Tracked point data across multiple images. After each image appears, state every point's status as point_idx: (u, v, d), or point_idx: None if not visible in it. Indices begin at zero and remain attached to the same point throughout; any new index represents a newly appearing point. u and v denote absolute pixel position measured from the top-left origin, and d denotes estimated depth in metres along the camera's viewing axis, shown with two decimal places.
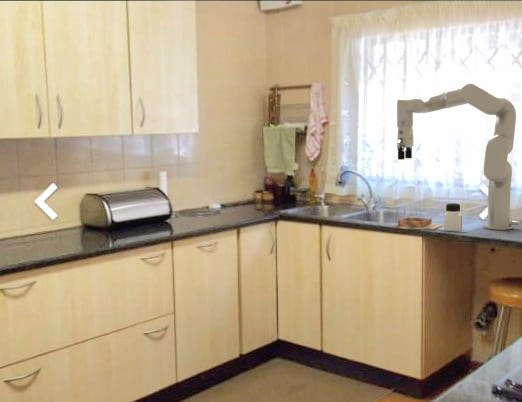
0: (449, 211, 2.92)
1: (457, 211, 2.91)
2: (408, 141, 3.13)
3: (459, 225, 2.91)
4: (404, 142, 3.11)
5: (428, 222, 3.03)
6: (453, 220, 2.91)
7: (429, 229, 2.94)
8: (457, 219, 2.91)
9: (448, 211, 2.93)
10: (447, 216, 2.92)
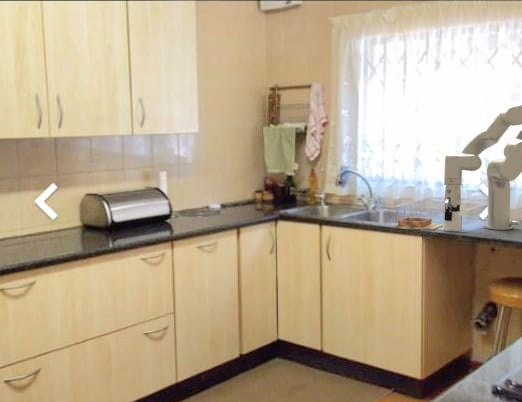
0: None
1: (457, 211, 2.91)
2: (456, 201, 2.90)
3: (458, 226, 2.91)
4: (452, 202, 2.89)
5: (428, 222, 3.03)
6: (453, 220, 2.91)
7: (429, 229, 2.94)
8: (457, 219, 2.91)
9: None
10: None
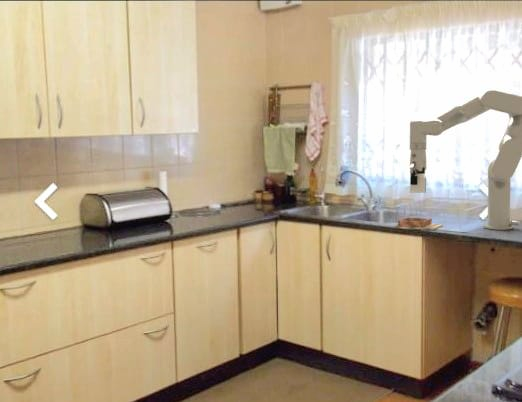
0: None
1: (421, 173, 2.98)
2: (421, 165, 2.97)
3: (423, 187, 2.98)
4: (417, 166, 2.96)
5: (428, 222, 3.03)
6: (418, 182, 2.98)
7: (429, 229, 2.94)
8: (421, 181, 2.98)
9: None
10: None
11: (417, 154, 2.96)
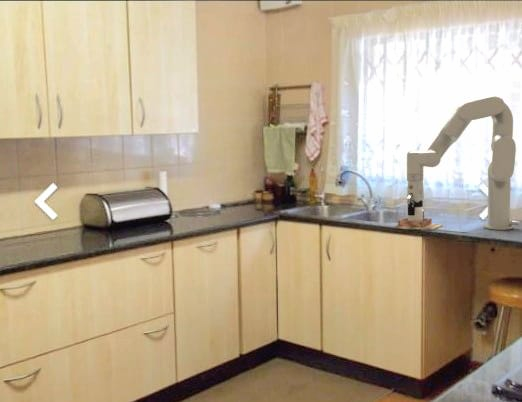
0: None
1: (419, 207, 3.01)
2: (418, 196, 3.00)
3: (420, 221, 3.00)
4: (414, 197, 2.98)
5: (428, 222, 3.03)
6: (415, 215, 3.01)
7: (429, 229, 2.94)
8: (419, 214, 3.00)
9: None
10: None
11: (414, 185, 2.98)
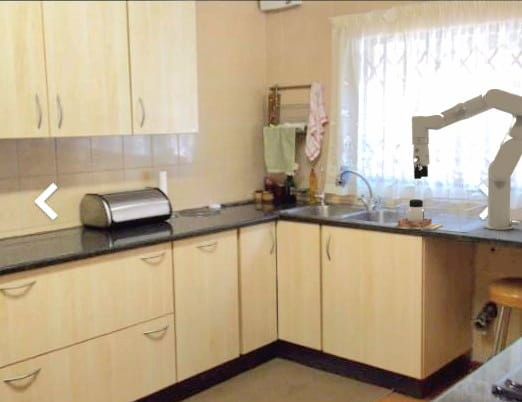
0: (411, 207, 3.02)
1: (419, 207, 3.01)
2: (424, 159, 3.00)
3: (420, 221, 3.01)
4: (420, 161, 2.98)
5: (428, 222, 3.03)
6: (415, 215, 3.01)
7: (429, 229, 2.94)
8: (419, 214, 3.00)
9: (411, 207, 3.02)
10: (409, 211, 3.01)
11: (420, 148, 2.98)
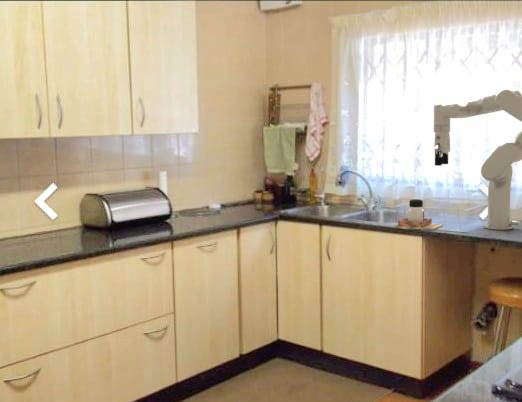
0: (411, 207, 3.02)
1: (419, 207, 3.01)
2: (445, 147, 3.07)
3: (420, 221, 3.00)
4: (441, 148, 3.06)
5: (428, 222, 3.03)
6: (415, 215, 3.01)
7: (429, 229, 2.94)
8: (419, 214, 3.00)
9: (411, 207, 3.02)
10: (409, 211, 3.01)
11: (441, 136, 3.06)
